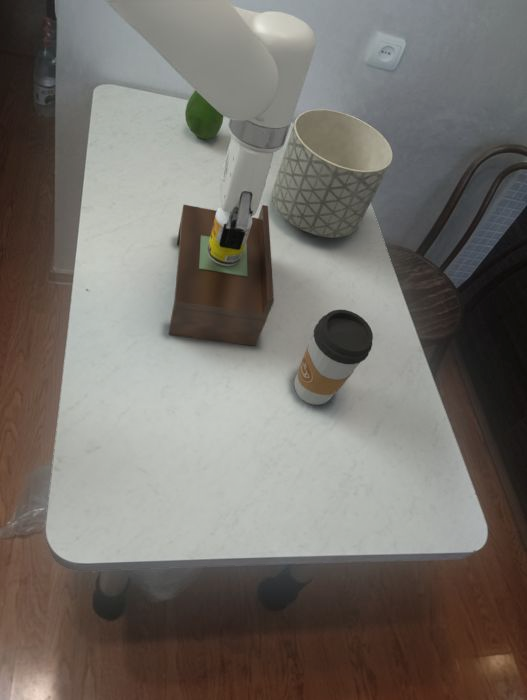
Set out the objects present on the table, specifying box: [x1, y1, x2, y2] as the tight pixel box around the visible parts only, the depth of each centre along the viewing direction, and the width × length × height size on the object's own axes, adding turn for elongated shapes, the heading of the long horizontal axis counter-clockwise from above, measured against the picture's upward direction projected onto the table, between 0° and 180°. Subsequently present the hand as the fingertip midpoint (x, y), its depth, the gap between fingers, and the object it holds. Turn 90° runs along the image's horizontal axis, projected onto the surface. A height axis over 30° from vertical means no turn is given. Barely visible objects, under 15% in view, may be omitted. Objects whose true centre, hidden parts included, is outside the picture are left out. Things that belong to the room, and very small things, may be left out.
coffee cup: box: [293, 309, 374, 406], centre depth 79 cm, size 8×8×15 cm
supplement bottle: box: [208, 204, 253, 266], centre depth 82 cm, size 6×6×10 cm
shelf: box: [168, 204, 275, 347], centre depth 88 cm, size 14×22×11 cm, turn 2°
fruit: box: [184, 89, 224, 140], centre depth 114 cm, size 8×8×12 cm
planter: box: [271, 108, 394, 239], centre depth 105 cm, size 19×19×18 cm
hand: (229, 231), depth 82 cm, fingers closed on supplement bottle, 5 cm apart
